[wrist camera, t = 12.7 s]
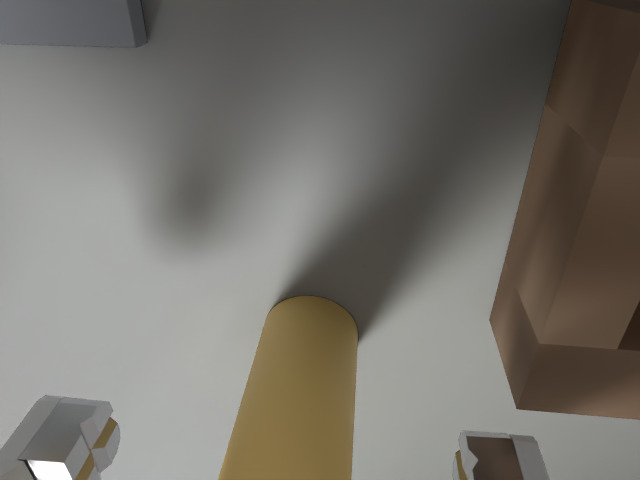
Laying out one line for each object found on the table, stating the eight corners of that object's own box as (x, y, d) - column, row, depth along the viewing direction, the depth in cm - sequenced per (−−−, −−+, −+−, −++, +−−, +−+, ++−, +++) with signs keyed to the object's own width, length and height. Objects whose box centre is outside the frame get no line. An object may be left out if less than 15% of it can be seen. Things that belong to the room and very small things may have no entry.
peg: (355, 369, 15) (337, 730, 8) (267, 362, 15) (176, 706, 8) (360, 299, 13) (344, 668, 6) (262, 292, 13) (146, 641, 7)
